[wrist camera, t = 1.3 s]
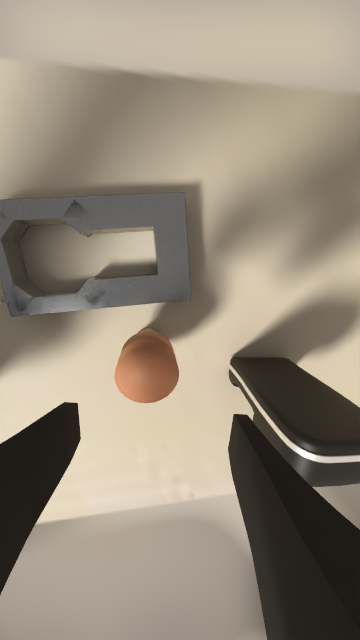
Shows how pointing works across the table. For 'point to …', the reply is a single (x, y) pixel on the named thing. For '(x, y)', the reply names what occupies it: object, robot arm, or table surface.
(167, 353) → the peg
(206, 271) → the table surface
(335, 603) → the robot arm
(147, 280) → the keyhole plate
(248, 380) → the battery charger
